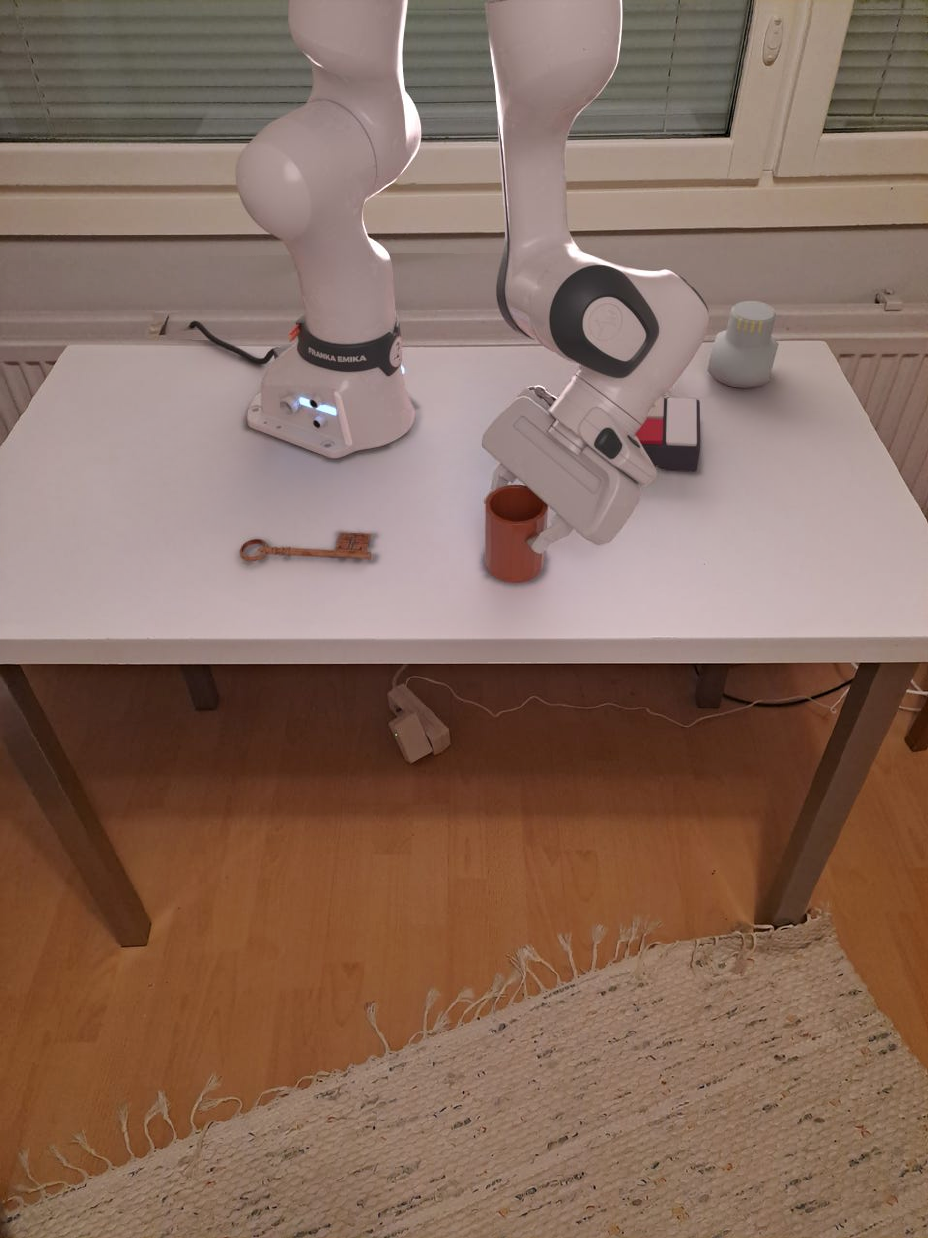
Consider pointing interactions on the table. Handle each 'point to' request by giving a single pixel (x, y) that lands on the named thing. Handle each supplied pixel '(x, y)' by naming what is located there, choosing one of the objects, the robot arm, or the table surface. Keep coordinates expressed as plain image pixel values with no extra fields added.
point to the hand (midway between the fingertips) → (511, 528)
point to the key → (341, 552)
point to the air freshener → (745, 346)
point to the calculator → (672, 433)
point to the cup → (513, 533)
